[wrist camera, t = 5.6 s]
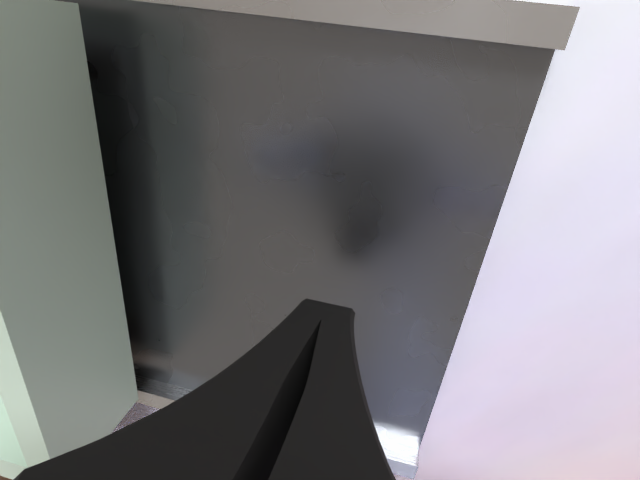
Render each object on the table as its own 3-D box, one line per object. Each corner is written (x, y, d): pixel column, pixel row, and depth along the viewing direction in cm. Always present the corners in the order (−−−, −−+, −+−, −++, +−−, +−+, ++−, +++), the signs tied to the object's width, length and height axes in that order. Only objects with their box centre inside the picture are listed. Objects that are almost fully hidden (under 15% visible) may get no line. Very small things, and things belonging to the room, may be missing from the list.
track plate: (413, 456, 16) (413, 484, 15) (-135, 308, 21) (-164, 323, 20) (564, 10, 9) (582, 6, 8) (-341, -82, 13) (-406, -92, 12)
